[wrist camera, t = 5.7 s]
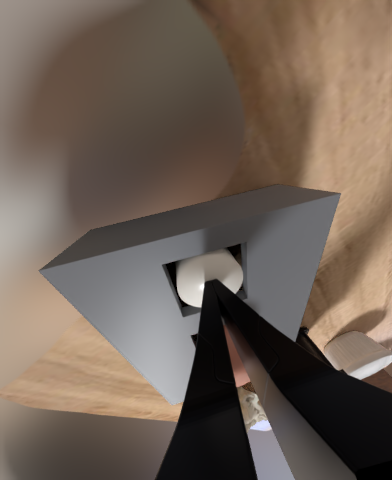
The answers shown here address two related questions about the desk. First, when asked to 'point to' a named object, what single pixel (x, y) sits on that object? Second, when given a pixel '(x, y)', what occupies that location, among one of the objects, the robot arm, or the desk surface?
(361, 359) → the ramekin
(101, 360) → the desk surface
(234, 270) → the knob
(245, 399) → the skull
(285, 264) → the housing
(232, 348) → the knob middle
